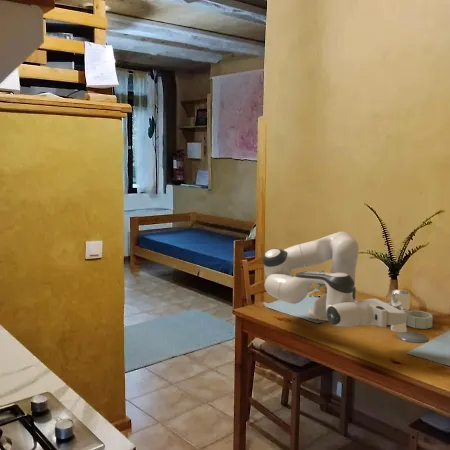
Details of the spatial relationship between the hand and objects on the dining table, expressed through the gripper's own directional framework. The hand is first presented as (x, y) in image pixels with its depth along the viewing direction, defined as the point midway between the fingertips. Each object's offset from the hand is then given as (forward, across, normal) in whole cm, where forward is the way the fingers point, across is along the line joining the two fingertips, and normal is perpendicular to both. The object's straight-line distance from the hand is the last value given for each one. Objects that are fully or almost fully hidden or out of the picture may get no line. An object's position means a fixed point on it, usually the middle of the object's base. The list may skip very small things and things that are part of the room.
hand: (401, 308), depth 191 cm
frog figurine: (+8, -77, -17) cm, 79 cm away
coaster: (+14, -10, -17) cm, 24 cm away
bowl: (+26, -22, -17) cm, 38 cm away
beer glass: (-1, 0, -8) cm, 9 cm away
